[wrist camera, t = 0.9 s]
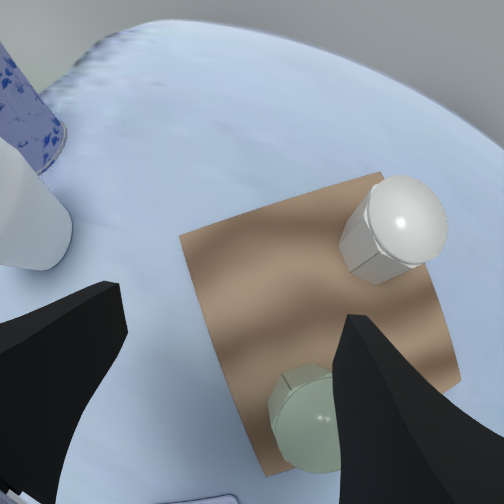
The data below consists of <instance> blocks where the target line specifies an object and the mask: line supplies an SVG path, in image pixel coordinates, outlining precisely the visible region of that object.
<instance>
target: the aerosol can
mask: <svg viewBox="0 0 504 504" xmlns="http://www.w3.org/2000/svg"><path fill="white" fill-rule="evenodd" d="M0 137H1V138H2V139H3V140H5V141H6V142H7V143H8V144H10V145H11V146H13V147H14V148H15V149H17V150H18V151H19V152H20V153H21V155H22V156H23V157H24V159H25V160H26V161H27V162H28V164H29V165H30V166H31V168H32V169H33V170H34V171H35V173H36V174H37V175H40V174H41V173H43V172H44V171H46V170H47V169H48V168H49V167H50V166H51V165H52V164H53V163H54V161H55V160H56V159H57V157H58V156H59V155H60V153H61V151H62V149H63V147H64V145H65V142H66V138H67V129H66V127H65V126H64V124H63V123H62V122H60V121H59V120H58V119H57V118H56V117H55V115H54V114H53V113H52V111H51V110H50V109H49V108H48V106H47V105H46V104H45V103H44V101H43V100H42V99H41V97H40V96H39V95H38V93H37V92H36V91H35V89H34V88H33V87H32V85H31V84H30V83H29V81H28V80H27V79H26V77H25V76H24V75H23V73H22V72H21V70H20V69H19V68H18V66H17V65H16V64H15V62H14V61H13V59H12V58H11V56H10V55H9V54H8V52H7V51H6V49H5V48H4V46H3V45H2V43H1V42H0Z"/></svg>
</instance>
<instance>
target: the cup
mask: <svg viewBox="0 0 504 504" xmlns="http://www.w3.org/2000/svg"><path fill="white" fill-rule="evenodd" d="M71 235H72V221H71V217H70V215H69V213H68V211H67V210H66V209H65V208H64V206H63V205H62V204H61V203H60V202H59V201H58V199H57V198H56V197H55V196H54V195H53V194H52V192H51V191H50V190H49V189H48V188H47V186H46V185H45V184H44V183H43V181H42V180H41V179H40V178H39V176H38V175H37V174H36V173H35V171H34V170H33V169H32V168H31V166H30V165H29V164H28V162H27V161H26V160H25V159H24V157H23V156H22V155H21V153H20V152H19V151H18V150H17V149H15V148H14V147H13V146H11V145H10V144H8V143H7V142H6V141H5V140H3V139H2V138H1V137H0V265H4V266H11V267H17V268H24V269H31V270H39V271H44V270H48V269H50V268H52V267H54V266H55V265H56V264H57V263H58V262H59V261H60V260H61V259H62V257H63V256H64V254H65V253H66V251H67V248H68V246H69V243H70V240H71Z"/></svg>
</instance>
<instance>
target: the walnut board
mask: <svg viewBox="0 0 504 504" xmlns="http://www.w3.org/2000/svg"><path fill="white" fill-rule="evenodd" d="M383 180H384V177H383V175H382V174H381V172H377V173H373V174H370V175H366V176H363V177H359V178H356V179H352V180H349V181H346V182H342V183H339V184H335V185H332V186H329V187H325V188H322V189H319V190H316V191H312V192H309V193H306V194H303V195H299V196H296V197H293V198H290V199H287V200H283V201H280V202H277V203H274V204H271V205H268V206H265V207H262V208H259V209H256V210H253V211H250V212H247V213H244V214H241V215H238V216H235V217H232V218H229V219H226V220H223V221H220V222H217V223H214V224H211V225H208V226H205V227H202V228H200V229H197V230H194V231H191V232H188V233H185V234H183V235H180V236H179V238H180V242H181V245H182V249H183V252H184V255H185V259H186V262H187V266H188V269H189V272H190V275H191V279H192V282H193V285H194V288H195V292H196V295H197V298H198V301H199V304H200V307H201V310H202V313H203V316H204V319H205V322H206V325H207V328H208V331H209V334H210V337H211V340H212V343H213V346H214V348H215V351H216V354H217V357H218V360H219V362H220V365H221V368H222V371H223V373H224V376H225V379H226V381H227V384H228V387H229V389H230V392H231V395H232V397H233V400H234V402H235V405H236V407H237V410H238V412H239V415H240V417H241V420H242V422H243V425H244V427H245V430H246V432H247V435H248V437H249V439H250V442H251V444H252V446H253V449H254V451H255V453H256V456H257V458H258V460H259V463H260V465H261V467H262V469H263V472H264V474H265V476H266V477H268V476H271V475H274V474H278V473H281V472H284V471H287V470H290V469H293V468H296V467H295V466H293V465H292V464H291V463H289V462H287V461H286V460H284V457H283V455H282V453H281V451H280V449H279V447H278V444H277V440H276V438H275V435H274V433H273V430H272V428H271V422H270V416H269V410H268V403H267V402H268V399H269V397H270V395H271V393H272V391H273V389H274V387H275V385H276V383H277V381H278V379H279V377H280V375H282V373H284V372H287V371H290V370H292V369H295V368H298V367H300V366H303V365H305V364H308V363H310V362H311V363H312V362H313V363H315V364H318V365H320V366H323V367H325V368H328V369H330V370H332V362H333V359H334V356H335V353H336V350H337V347H338V344H339V340H340V337H341V334H342V331H343V327H344V324H345V320H346V317H347V314H355V315H367V316H368V317H369V318H370V319H371V321H372V322H373V323H374V324H375V325H376V326H377V327H378V328H379V329H380V331H381V332H382V333H383V334H384V335H385V336H386V337H387V339H388V340H389V341H390V342H391V343H392V344H393V345H394V346H395V348H396V349H397V350H398V351H399V352H400V353H401V354H402V355H403V356H404V357H405V359H406V360H407V361H408V362H409V363H410V364H411V365H412V366H413V367H414V368H415V369H416V370H417V371H418V372H419V373H420V374H421V375H422V376H423V377H424V378H425V379H426V380H427V381H428V382H429V383H430V384H431V385H432V386H433V387H434V388H435V389H437V390H438V391H439V392H440V393H441V394H443V393H445V392H446V391H448V390H449V389H450V388H452V387H453V386H455V385H456V384H457V383H459V382H460V381H461V376H460V372H459V368H458V364H457V360H456V356H455V352H454V348H453V345H452V341H451V338H450V334H449V331H448V328H447V325H446V321H445V318H444V315H443V312H442V309H441V306H440V303H439V300H438V297H437V295H436V292H435V289H434V286H433V284H432V281H431V278H430V276H429V273H428V271H427V268H426V266H425V263H423V264H421V265H419V266H417V267H415V268H413V269H411V270H408V271H406V272H404V273H402V274H400V275H398V276H396V277H393V278H391V279H389V280H387V281H385V282H382V283H380V284H378V285H373V284H371V283H369V282H367V281H365V280H363V279H360V278H358V277H356V276H354V275H352V274H350V273H351V272H350V273H349V271H348V269H347V266H346V264H345V261H344V259H343V257H342V254H341V252H340V249H339V247H338V246H339V245H338V244H339V241H340V238H341V236H342V233H343V230H344V228H345V225H346V222H347V220H348V219H349V218H350V216H351V215H352V214H353V212H354V211H355V210H356V208H357V207H358V206H359V204H360V203H361V202H362V200H363V199H364V198H365V196H366V195H367V193H368V192H369V191H370V189H371V188H372V187H373V186H374V185H375V184H379V183H380V182H381V181H383Z"/></svg>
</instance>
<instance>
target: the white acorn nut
mask: <svg viewBox="0 0 504 504" xmlns="http://www.w3.org/2000/svg"><path fill="white" fill-rule="evenodd" d="M447 233H448V224H447V218H446V214H445V211H444V208H443V206H442V204H441V202H440V200H439V199H438V197H437V196H436V195H435V193H434V192H433V191H432V190H431V189H430V188H429V187H428V186H426V185H425V184H424V183H422V182H421V181H419V180H417V179H415V178H412V177H409V176H405V175H395V176H391V177H388V178H386V179H384V180H383V181H381V182H380V183H379V184H375V185H374V186H373V187H372V188H371V189H370V191H369V192H368V193H367V195H366V196H365V198H364V199H363V200H362V202H361V203H360V204H359V206H358V207H357V208H356V210H355V211H354V212H353V214H352V215H351V216H350V218H349V219H348V220H347V222H346V225H345V228H344V230H343V233H342V236H341V238H340V241H339V244H338V245H339V246H338V247H339V249H340V252H341V254H342V257H343V259H344V261H345V264H346V266H347V269H348V271H349V273H350V272H351V273H350V274H352V275H354V276H356V277H358V278H360V279H363V280H365V281H367V282H369V283H371V284H373V285H378V284H380V283H382V282H385V281H387V280H389V279H391V278H393V277H396V276H398V275H400V274H402V273H404V272H406V271H408V270H411V269H413V268H415V267H417V266H419V265H421V264H423V263H425V262H427V261H429V260H431V259H433V258H435V257H437V256H438V255H439V253H440V251H441V250H442V249H443V247H444V245H445V242H446V239H447Z"/></svg>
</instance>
